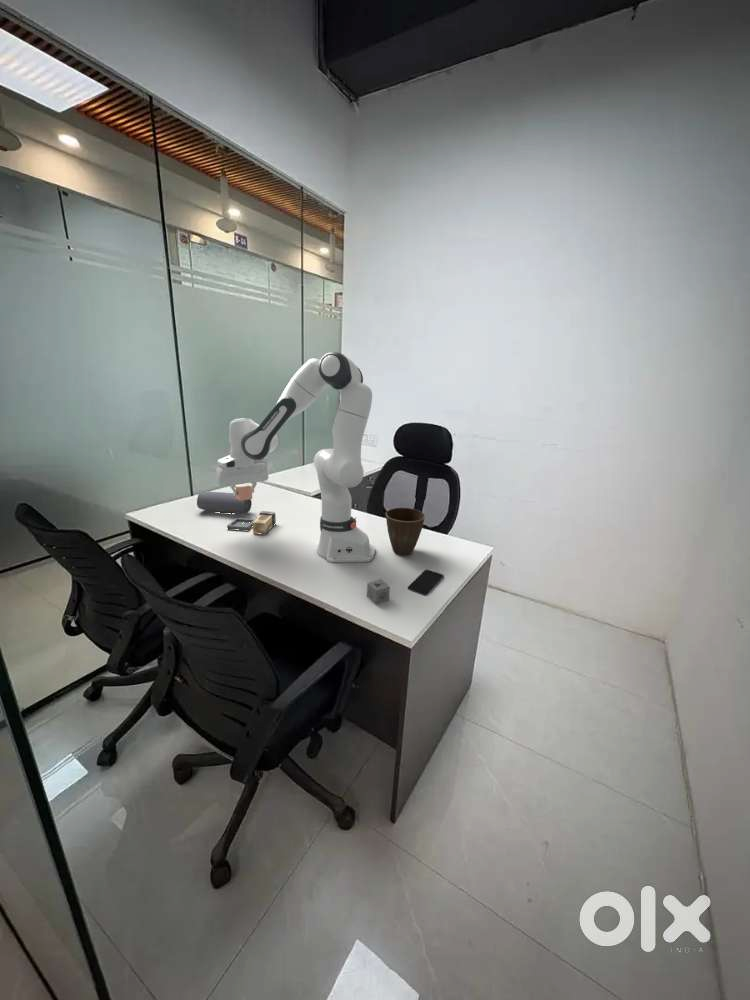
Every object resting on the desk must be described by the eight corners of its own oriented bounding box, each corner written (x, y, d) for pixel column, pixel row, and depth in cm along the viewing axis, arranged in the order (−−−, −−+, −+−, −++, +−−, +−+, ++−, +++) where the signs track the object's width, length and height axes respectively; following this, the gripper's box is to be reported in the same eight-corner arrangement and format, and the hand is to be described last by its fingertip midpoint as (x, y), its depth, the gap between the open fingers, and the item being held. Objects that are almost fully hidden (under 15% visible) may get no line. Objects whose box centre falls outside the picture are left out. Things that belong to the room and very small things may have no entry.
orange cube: (248, 496, 150) (247, 484, 148) (252, 498, 147) (251, 486, 146) (236, 498, 147) (235, 485, 145) (240, 500, 144) (239, 488, 142)
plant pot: (389, 562, 136) (392, 522, 131) (378, 544, 149) (381, 508, 144) (427, 559, 140) (431, 520, 135) (413, 542, 153) (416, 506, 148)
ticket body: (275, 523, 164) (275, 511, 162) (266, 534, 152) (265, 521, 151) (261, 522, 164) (261, 510, 162) (251, 533, 153) (250, 520, 151)
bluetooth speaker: (252, 511, 177) (251, 491, 174) (244, 518, 168) (243, 497, 165) (207, 507, 178) (205, 488, 175) (197, 514, 170) (195, 493, 166)
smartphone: (406, 588, 119) (425, 568, 131) (405, 591, 120) (425, 571, 131) (426, 595, 116) (444, 575, 127) (426, 598, 116) (444, 577, 128)
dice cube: (366, 596, 114) (367, 582, 112) (380, 592, 117) (381, 578, 115) (374, 605, 110) (375, 590, 108) (388, 600, 113) (389, 586, 111)
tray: (256, 523, 163) (255, 519, 163) (248, 531, 155) (247, 527, 154) (236, 521, 164) (236, 518, 163) (227, 529, 155) (227, 525, 155)
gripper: (263, 456, 151) (264, 488, 155) (212, 460, 138) (215, 495, 142) (270, 459, 147) (271, 492, 151) (219, 464, 133) (221, 500, 138)
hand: (243, 493), depth 146 cm, fingers closed on orange cube, 5 cm apart
